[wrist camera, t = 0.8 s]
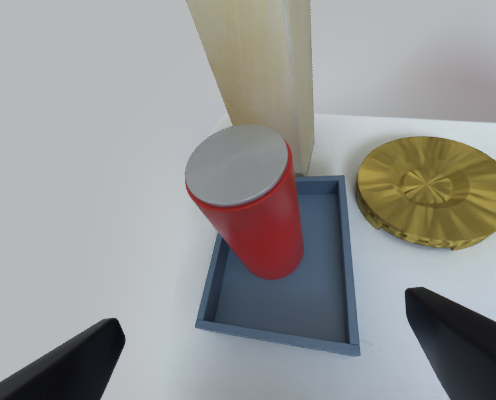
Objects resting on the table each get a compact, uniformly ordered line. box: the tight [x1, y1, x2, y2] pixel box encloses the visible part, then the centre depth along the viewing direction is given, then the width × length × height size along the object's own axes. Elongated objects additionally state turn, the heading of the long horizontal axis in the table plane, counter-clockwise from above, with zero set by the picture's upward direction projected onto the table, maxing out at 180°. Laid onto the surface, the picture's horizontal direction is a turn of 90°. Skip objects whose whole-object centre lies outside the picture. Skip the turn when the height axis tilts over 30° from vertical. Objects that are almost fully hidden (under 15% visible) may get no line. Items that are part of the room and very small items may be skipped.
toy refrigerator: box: [186, 0, 314, 177], centre depth 22 cm, size 8×7×21 cm
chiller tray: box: [195, 175, 360, 356], centre depth 22 cm, size 15×12×3 cm
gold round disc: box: [356, 137, 496, 251], centre depth 22 cm, size 12×12×2 cm
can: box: [185, 124, 304, 280], centre depth 18 cm, size 6×6×13 cm
